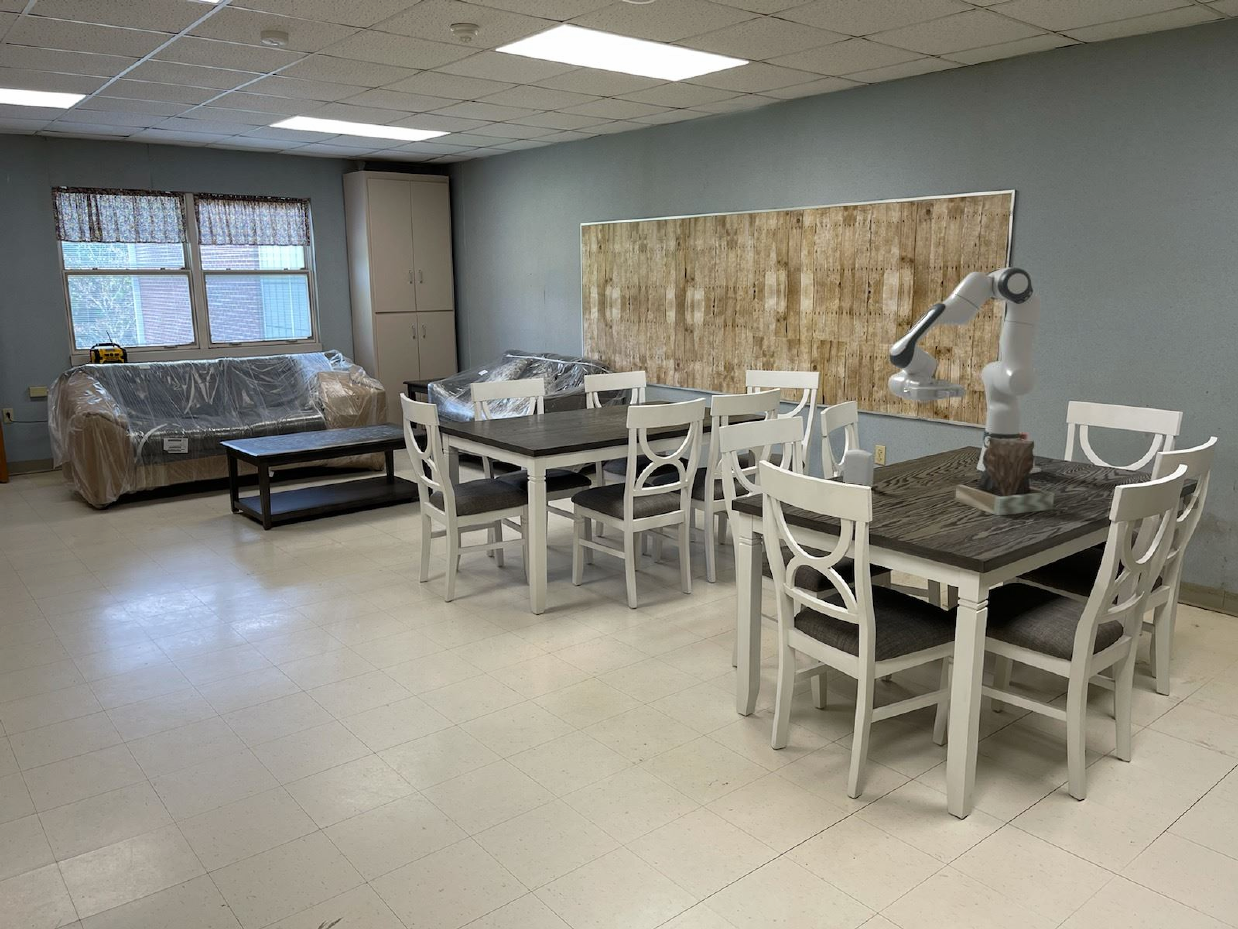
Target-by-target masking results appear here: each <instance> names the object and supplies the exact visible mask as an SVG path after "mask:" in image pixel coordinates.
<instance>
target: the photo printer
mask: <svg viewBox="0 0 1238 929" xmlns="http://www.w3.org/2000/svg"><path fill="white" fill-rule="evenodd" d="M843 459H844V461H843V478H842V479H843V481H842V482H845V483H855V484H862V485H866V486H871V488H873V485H874V470H875V468H874V467H875V456H874V455H873V454H872V453H871V452H868V451H867V450H862V449H850V450H846V451H845V454H844V458H843Z"/></svg>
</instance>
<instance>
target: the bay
mask: <svg viewBox="0 0 1238 929" xmlns="http://www.w3.org/2000/svg"><path fill="white" fill-rule="evenodd" d="M1054 500H1055V492H1051V491H1049V490H1048V491H1047V490H1045V489H1041V488H1037V487H1034V486H1030V489H1029V494H1022V495H1013V496H1003V497H1000V496H996V495H993V494H990V493H987V492H983V491H980V490H979V489H977V488H973V487H969V486H966V485H964V484H957V485H956V488H955V498H954V501H955V502H957V503H960V504H963V505H966V506H970V507H973V508H975V509H979V510H981V511H984V512H987V513H991V514H993V515H997V516H1006V515H1015V514H1023V513H1030V512H1032V513H1033V512H1041V511H1049V510H1053V509H1054Z"/></svg>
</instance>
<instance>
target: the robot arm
mask: <svg viewBox="0 0 1238 929" xmlns="http://www.w3.org/2000/svg"><path fill="white" fill-rule="evenodd" d="M990 299H993V300H998V301H1005V302H1006V308H1007V309H1006V310H1007V311H1006V315H1005V318H1004V322H1003V326H1002V331H1001V334H1000V338H999V346H1000V352H1001V353H1000V354H1001V358H1000V360H996V361H993V362H989V363H987V364H986V365H985V366H984V367H983V369H982V370H981V377H980V378H981V381H982V383H983V385H984V391H985V400H986V421H985V430H984V431H983V435H982V437H983V438H982V440H983V444H982V448H981V452H980V456H979V460H978V463H977V466H976V469H977V470H978V471H980V472H984V470H985V466H984V464H983V456H984V453H985V451H986V449H987V448H988V446H989V445H990V442H989V438H998V439H1021V440H1024V441H1027V439H1028V437H1029V435H1028V434H1027V433H1020V424H1021V414H1022V412H1021V408H1020V406H1019V402H1018V399H1017V398H1018V396H1024V395H1027V394H1028V393H1030V392H1031V391H1033V389H1034V387H1035V385H1036V375H1035V373H1034V371H1033V370H1034V369H1033V352H1034V345H1035V341H1036V336H1037V333H1038V328H1039V325H1040V320H1041V314H1042V307H1043V306H1042V303H1043V302H1042V297H1041V296H1040V295H1039V294H1037V293H1036V292H1034V290H1033V286H1032V279H1031V276H1030V275H1029V273H1028V272H1027V271H1026V270H1024V269H1022V268H1020V267H1003V268H999V269H995V270H993V271H991V272H990V271H989V272H988V273H987V274H985V273H984V272H981V271H972V272H970V273H968V274H967V275H966V276H965V277H964V278H963V279H962V280H961V281H960V282H959V284H958V285H957V286H956V287H955V288H954V290H953V291H952V292H951V293H950V295H949V296H948V297H947V298H946V299H945V300H943V301H942V302H939V303H935V304H933V305H932V306H931V307H929V309H927V310H926V311H925V313H923V315H921V317H920V318H919V319H917V321H916V322H915V323H914V324H913V325H912V326H911V328H910V329H908V331H907V332H906V333H905V334H904V335H903V336H901V337H900V338H899V339H898V340H897V341H895V342H894V343H893V344H892V345H891V347H890V348H889V353H888V354H889V355H888V356H889V361H890V364H891V365H893V366H895V367H897V368H898V369H900V370H901V371H899V372H897V373H895V374H892V375H891V376H890V377H889V378H888V383H887V385H888V386H887V387H888V390H889V391H890V393H891V394H892V395H894V396H896V397H898V398H901V399H905V400H912V401H913V402H919V403H925V404H927V403H931V402H933V401H937V400H943V399H946V398H947V399H950V398H951V399H952V398H953V399H954V398H964V397H965V393H966V387H965V386H964V385H961V384H958V383H953V382H950V381H949V382H948V380H947V379H937V378H934V377H935V375H936V373H937V370H938V361H937V359H936V357H934V356H933V355H932V354H930V353H929V352H927V351H926V350H924V349H923V348H922V347H920V346H919V343H920V342H921V341H922V340H923V339H924V338H925V337H926V335H927V334H929V332H930V331H931V330H932V329H933V328H934V327H936V326H938V325H949V326H956V327H959V326H965V325H966V324H967V325H968V324H969V323H970V322H971V321H972V320H973V319H974V318H975V317H976V316H977V314H978V313H979V311H980V310H981V309H982V307H983V305H984V304H985V303H986V302H987V301H988V300H990ZM1041 472H1042V469H1041V467H1038V466H1035V462H1034V463H1033V468H1032V469H1031V471H1030V473H1029V475H1030V474H1034V473H1035V474H1036V473H1041Z"/></svg>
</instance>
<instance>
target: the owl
mask: <svg viewBox="0 0 1238 929" xmlns="http://www.w3.org/2000/svg"><path fill="white" fill-rule="evenodd" d="M989 442H990V445H989V446H988V448H987V449H986V451H985V453H984V456H983V464H984V466H985V470H984V471H982V473H980V478H979V479H978V481H977V484H976V486H978V490H980V491H983V492H987V493H990V494H993V495H996V496H1000V497H1003V496H1013V495H1022V494H1029V489H1030V487H1031V486H1030V480H1029V476H1030V474H1031V473H1030V471H1031V469H1032V468H1033V463H1034V464H1035V455H1034V453H1033V452H1034V451H1033V450H1034V449H1035V441H1034V440H1032V441H1028V440H1024V439H998V438H989ZM1029 473H1030V474H1029Z"/></svg>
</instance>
